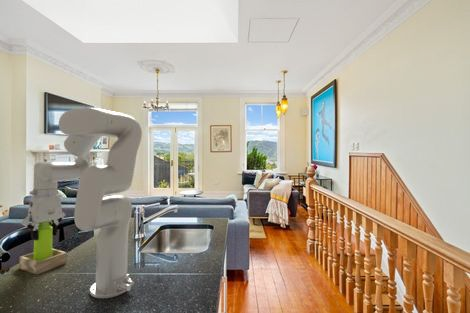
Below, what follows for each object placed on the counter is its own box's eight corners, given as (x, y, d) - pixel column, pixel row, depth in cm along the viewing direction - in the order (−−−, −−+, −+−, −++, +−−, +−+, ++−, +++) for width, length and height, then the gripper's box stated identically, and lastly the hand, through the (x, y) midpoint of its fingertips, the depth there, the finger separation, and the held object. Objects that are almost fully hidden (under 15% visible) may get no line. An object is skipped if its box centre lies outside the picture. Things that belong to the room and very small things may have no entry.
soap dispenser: (43, 264, 92) (45, 213, 92) (29, 262, 93) (30, 211, 94) (57, 258, 98) (59, 209, 98) (43, 256, 99) (45, 208, 99)
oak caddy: (66, 263, 98) (66, 252, 98) (36, 274, 88) (37, 262, 88) (49, 257, 103) (49, 247, 103) (19, 268, 93) (19, 256, 93)
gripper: (25, 196, 86) (24, 246, 86) (73, 190, 102) (72, 232, 102) (13, 194, 89) (12, 242, 89) (62, 189, 105) (61, 230, 105)
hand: (44, 236), depth 96 cm, fingers closed on soap dispenser, 5 cm apart
